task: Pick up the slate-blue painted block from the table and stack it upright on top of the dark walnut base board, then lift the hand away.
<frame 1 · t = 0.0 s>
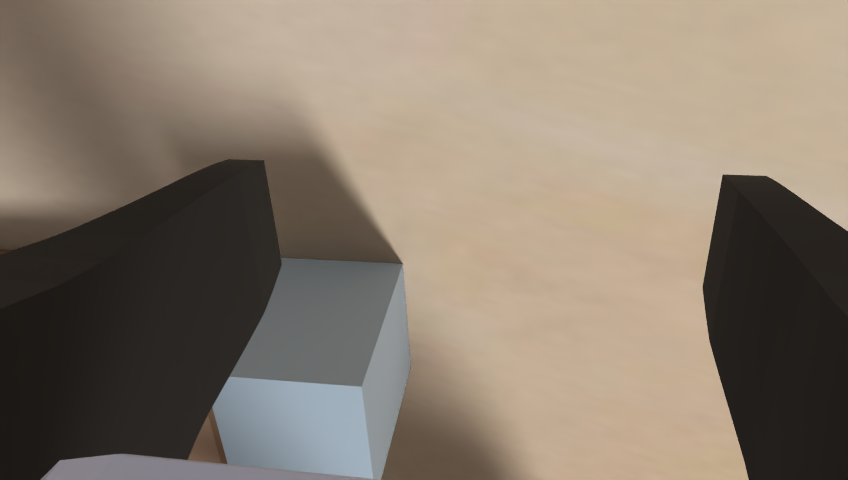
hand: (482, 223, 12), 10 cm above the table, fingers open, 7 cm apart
walnut base: (76, 393, 31), on the table
slate block: (344, 313, 27), on the table
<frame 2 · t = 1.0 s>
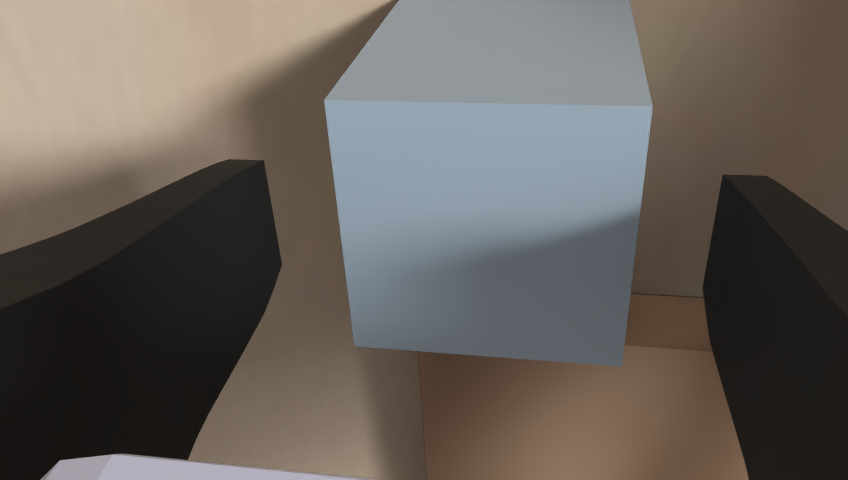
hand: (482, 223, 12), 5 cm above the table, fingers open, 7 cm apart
slate block: (511, 97, 17), on the table
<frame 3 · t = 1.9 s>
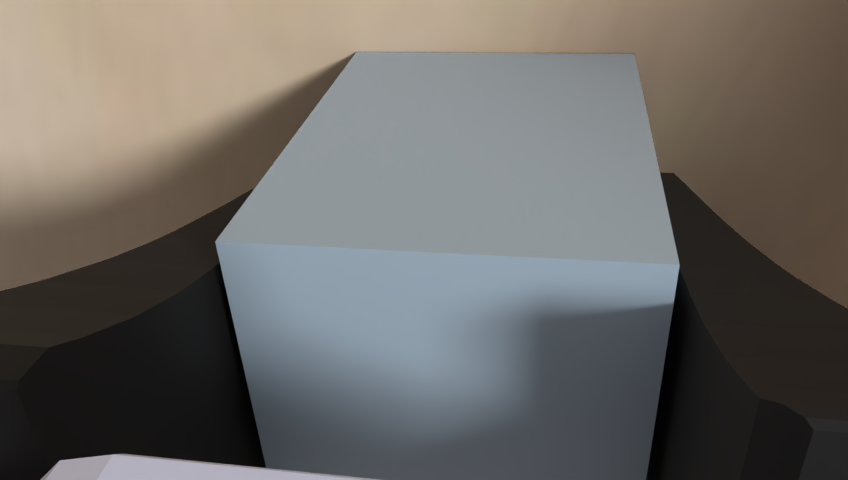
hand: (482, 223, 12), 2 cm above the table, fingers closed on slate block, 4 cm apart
slate block: (491, 176, 13), on the table, touching gripper
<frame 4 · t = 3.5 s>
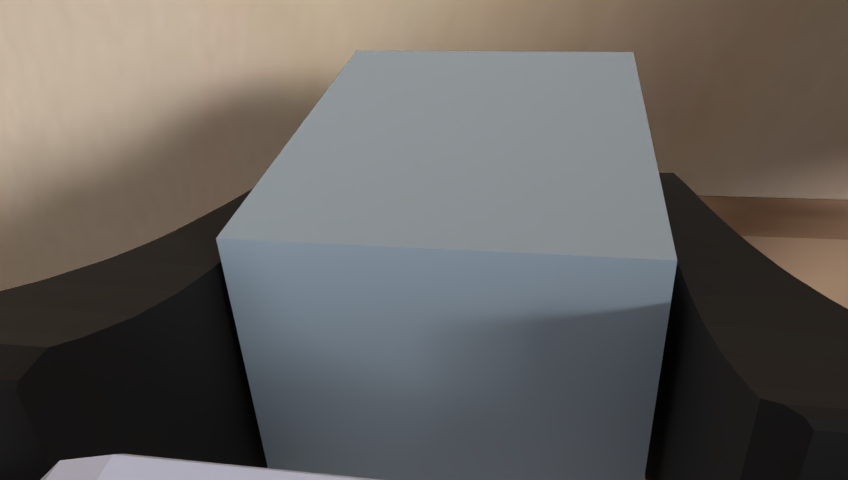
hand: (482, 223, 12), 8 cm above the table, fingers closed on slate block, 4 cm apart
walnut base: (656, 389, 24), on the table
slate block: (490, 175, 14), point 7 cm above the table, touching gripper
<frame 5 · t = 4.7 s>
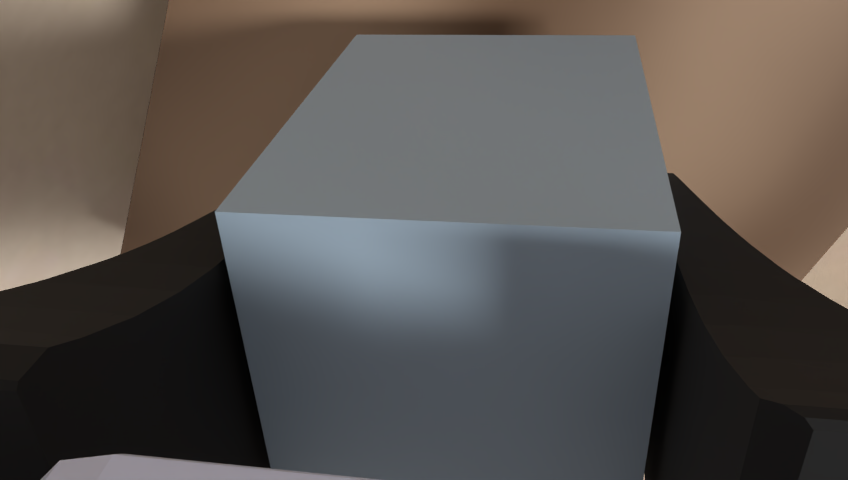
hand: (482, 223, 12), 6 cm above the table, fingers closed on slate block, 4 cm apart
walnut base: (509, 93, 17), on the table
slate block: (491, 160, 13), point 4 cm above the table, touching gripper
when the fingers open (5 cm above the table, at t = 5.3 s): slate block stays where it is, resting on walnut base.
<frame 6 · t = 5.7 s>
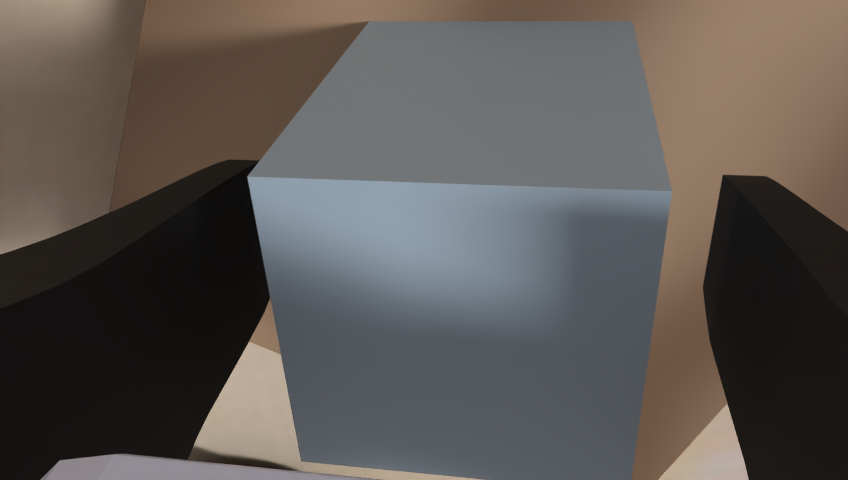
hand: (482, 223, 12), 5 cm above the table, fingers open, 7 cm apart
walnut base: (504, 112, 16), on the table
slate block: (496, 141, 14), point 2 cm above the table, touching walnut base
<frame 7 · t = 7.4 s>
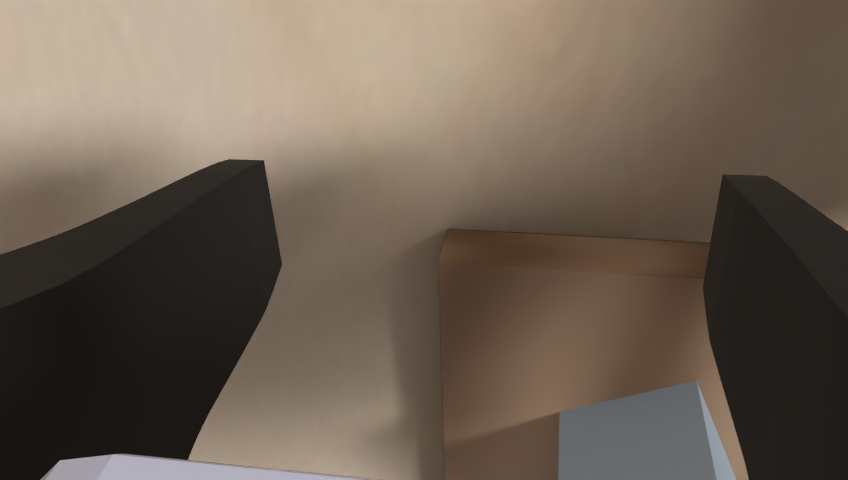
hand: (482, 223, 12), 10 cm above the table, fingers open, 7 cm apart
walnut base: (644, 407, 27), on the table
slate block: (647, 444, 25), point 2 cm above the table, touching walnut base
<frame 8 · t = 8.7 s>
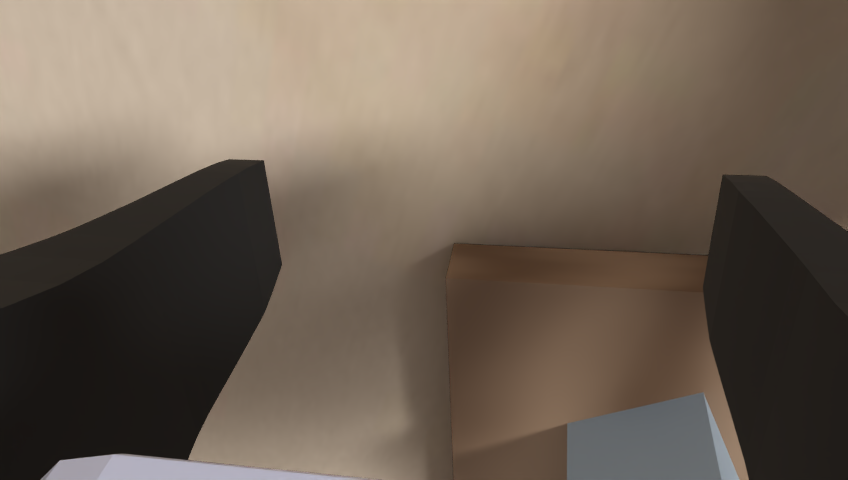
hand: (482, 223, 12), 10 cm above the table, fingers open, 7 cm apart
walnut base: (651, 417, 27), on the table
slate block: (655, 455, 26), point 2 cm above the table, touching walnut base
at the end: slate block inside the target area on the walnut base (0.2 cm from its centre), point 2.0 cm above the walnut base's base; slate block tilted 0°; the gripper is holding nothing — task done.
